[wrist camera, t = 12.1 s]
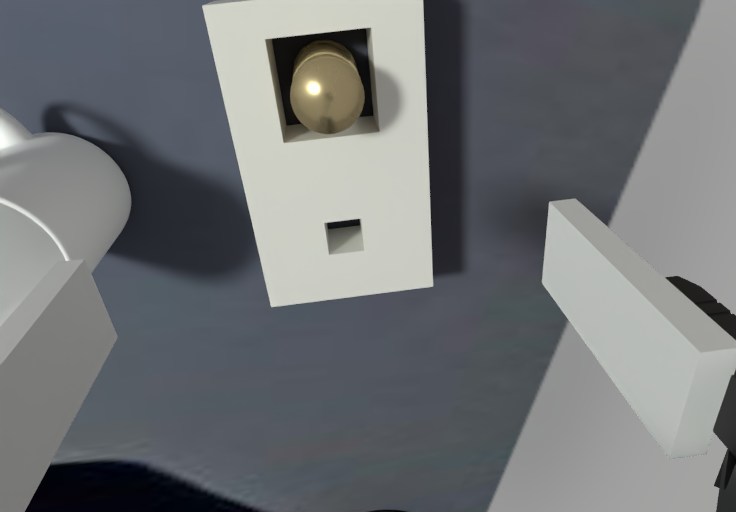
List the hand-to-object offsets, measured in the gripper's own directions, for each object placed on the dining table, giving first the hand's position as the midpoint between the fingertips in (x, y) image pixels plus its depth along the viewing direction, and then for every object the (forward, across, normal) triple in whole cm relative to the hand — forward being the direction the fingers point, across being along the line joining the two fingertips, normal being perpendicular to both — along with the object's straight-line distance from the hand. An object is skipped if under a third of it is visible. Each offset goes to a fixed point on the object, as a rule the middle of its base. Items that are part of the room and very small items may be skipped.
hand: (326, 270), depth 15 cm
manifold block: (+23, 0, +4) cm, 23 cm away
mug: (+23, +18, +3) cm, 30 cm away
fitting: (+23, -1, -2) cm, 23 cm away
